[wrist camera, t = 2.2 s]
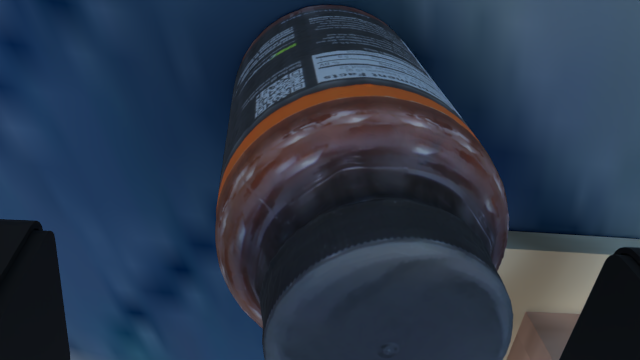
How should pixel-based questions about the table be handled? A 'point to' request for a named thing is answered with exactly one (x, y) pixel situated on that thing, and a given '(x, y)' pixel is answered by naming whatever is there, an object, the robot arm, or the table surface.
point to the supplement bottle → (358, 201)
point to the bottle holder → (550, 287)
